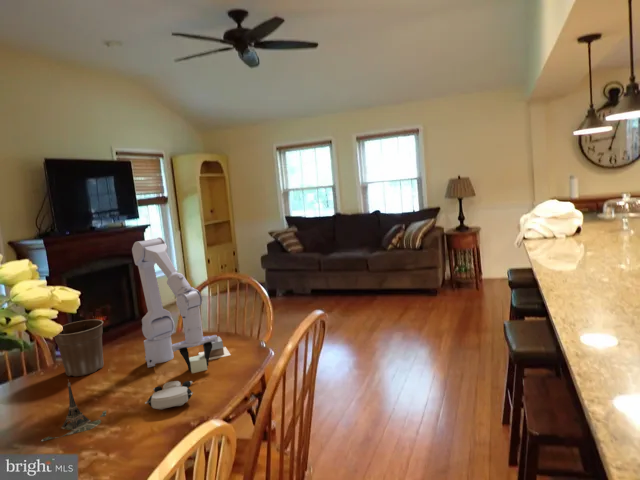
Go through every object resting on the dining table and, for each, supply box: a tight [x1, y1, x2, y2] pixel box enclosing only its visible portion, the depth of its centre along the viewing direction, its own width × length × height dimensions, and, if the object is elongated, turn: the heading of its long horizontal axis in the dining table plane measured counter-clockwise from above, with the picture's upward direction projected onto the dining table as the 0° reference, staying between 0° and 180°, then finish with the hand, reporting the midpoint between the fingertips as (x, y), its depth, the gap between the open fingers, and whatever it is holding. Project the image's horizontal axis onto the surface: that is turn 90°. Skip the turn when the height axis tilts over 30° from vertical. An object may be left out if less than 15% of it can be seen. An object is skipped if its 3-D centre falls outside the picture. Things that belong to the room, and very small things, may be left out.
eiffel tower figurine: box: [40, 380, 107, 442], centre depth 124 cm, size 15×10×13 cm
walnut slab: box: [209, 348, 224, 358], centre depth 166 cm, size 6×6×2 cm
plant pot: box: [54, 319, 105, 377], centre depth 164 cm, size 16×16×16 cm
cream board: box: [198, 346, 232, 361], centre depth 166 cm, size 10×10×1 cm
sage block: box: [189, 354, 208, 374], centre depth 153 cm, size 5×5×4 cm
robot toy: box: [144, 380, 194, 411], centre depth 133 cm, size 12×4×15 cm
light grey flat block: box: [211, 336, 224, 350], centre depth 166 cm, size 6×6×2 cm
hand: (198, 367), depth 153 cm, fingers closed on sage block, 5 cm apart
